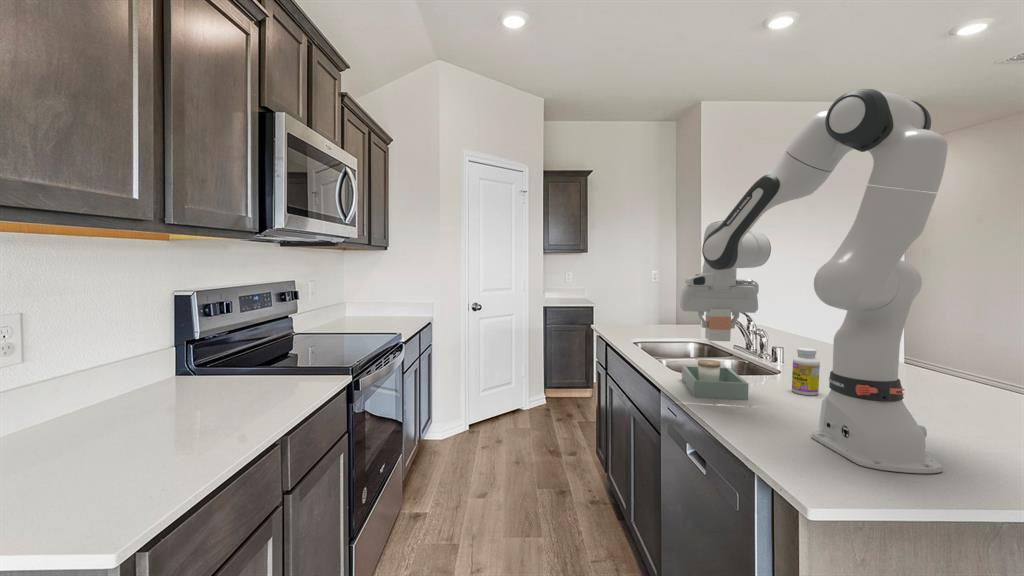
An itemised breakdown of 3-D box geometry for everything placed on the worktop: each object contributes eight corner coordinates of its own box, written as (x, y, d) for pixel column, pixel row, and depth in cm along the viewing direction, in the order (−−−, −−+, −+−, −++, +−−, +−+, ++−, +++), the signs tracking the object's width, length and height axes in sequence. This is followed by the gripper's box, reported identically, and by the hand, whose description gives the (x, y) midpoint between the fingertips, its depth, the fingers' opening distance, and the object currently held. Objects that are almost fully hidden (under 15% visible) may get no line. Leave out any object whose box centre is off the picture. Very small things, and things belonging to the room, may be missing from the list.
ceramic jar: (722, 387, 141) (722, 364, 140) (699, 386, 142) (700, 363, 142) (717, 382, 147) (717, 360, 147) (695, 381, 148) (695, 359, 148)
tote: (747, 402, 129) (748, 383, 128) (693, 399, 131) (693, 381, 131) (728, 383, 148) (729, 367, 148) (681, 381, 151) (682, 365, 150)
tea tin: (725, 338, 137) (726, 307, 137) (730, 341, 132) (731, 309, 131) (705, 337, 138) (705, 306, 138) (709, 340, 133) (709, 308, 132)
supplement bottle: (786, 390, 140) (787, 347, 139) (803, 389, 142) (805, 346, 141) (806, 396, 134) (808, 351, 133) (824, 395, 136) (826, 350, 135)
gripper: (755, 279, 135) (753, 327, 136) (679, 278, 139) (678, 325, 140) (762, 280, 129) (760, 330, 130) (683, 279, 133) (682, 328, 134)
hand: (717, 327), depth 135 cm, fingers closed on tea tin, 6 cm apart
